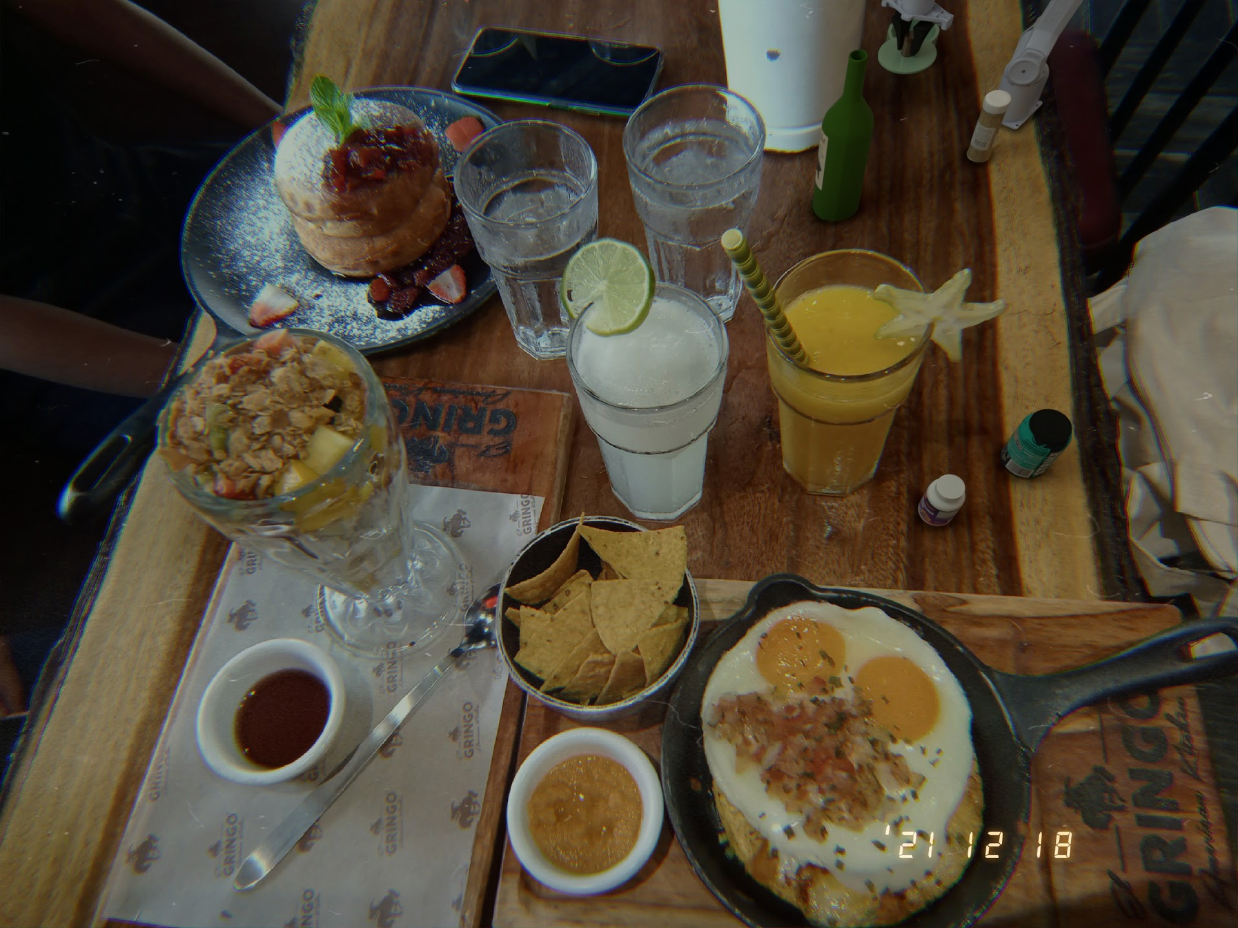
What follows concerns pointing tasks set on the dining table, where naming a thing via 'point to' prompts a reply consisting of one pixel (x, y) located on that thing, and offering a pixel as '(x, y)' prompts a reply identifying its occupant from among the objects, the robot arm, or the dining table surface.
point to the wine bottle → (844, 147)
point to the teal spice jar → (1036, 443)
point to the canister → (931, 35)
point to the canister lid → (906, 55)
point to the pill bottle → (942, 500)
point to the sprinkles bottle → (988, 125)
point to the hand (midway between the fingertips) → (908, 50)
